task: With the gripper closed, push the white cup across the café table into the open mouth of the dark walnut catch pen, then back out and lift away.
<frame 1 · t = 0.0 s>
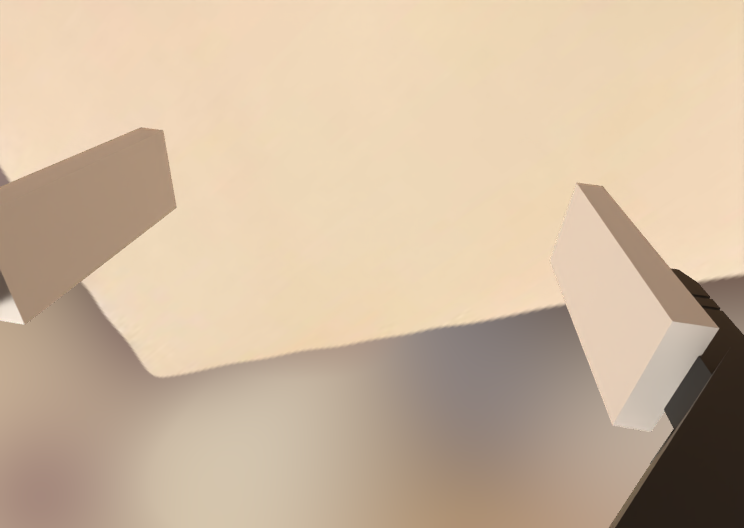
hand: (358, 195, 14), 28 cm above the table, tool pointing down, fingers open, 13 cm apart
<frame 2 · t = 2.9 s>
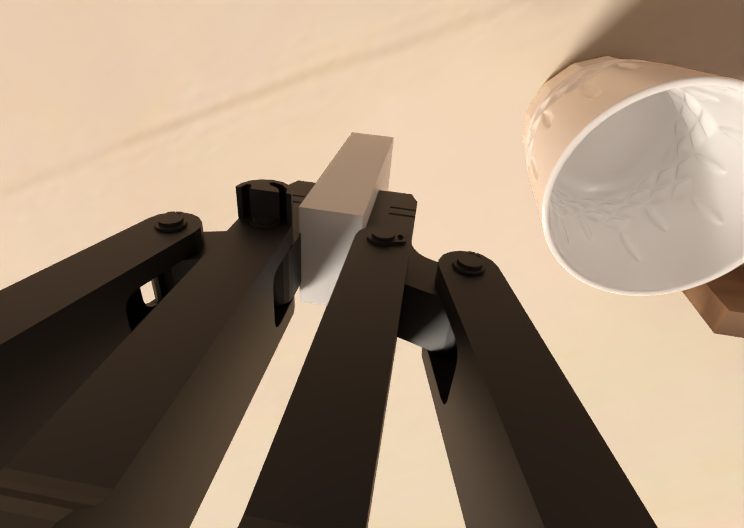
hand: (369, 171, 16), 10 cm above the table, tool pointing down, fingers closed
white cup: (587, 124, 23), on the table
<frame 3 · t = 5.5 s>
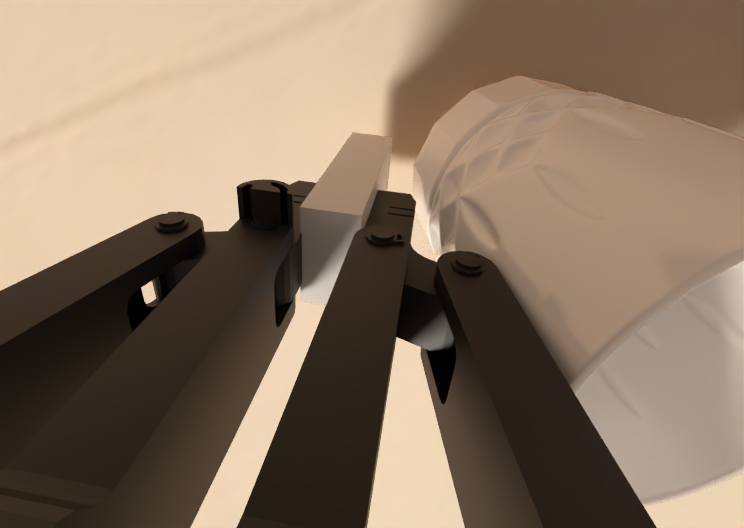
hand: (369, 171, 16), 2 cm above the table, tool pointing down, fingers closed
white cup: (496, 171, 16), point 1 cm above the table, touching gripper, hand
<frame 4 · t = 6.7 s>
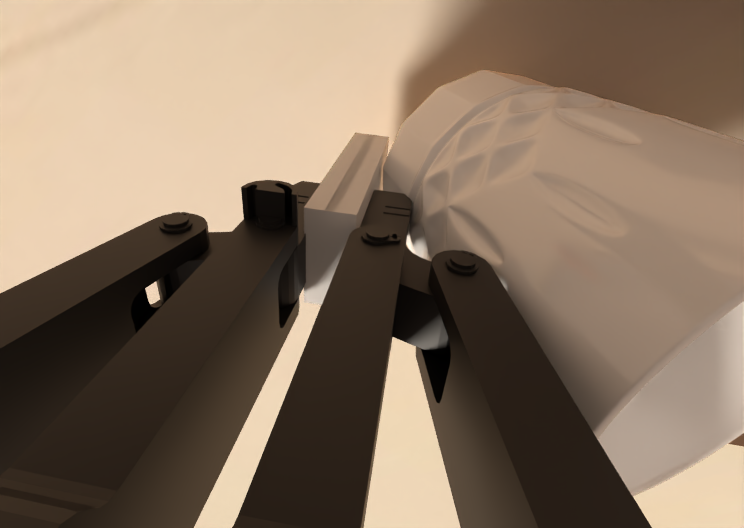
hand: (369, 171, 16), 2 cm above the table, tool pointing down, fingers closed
white cup: (463, 166, 16), point 2 cm above the table, touching gripper
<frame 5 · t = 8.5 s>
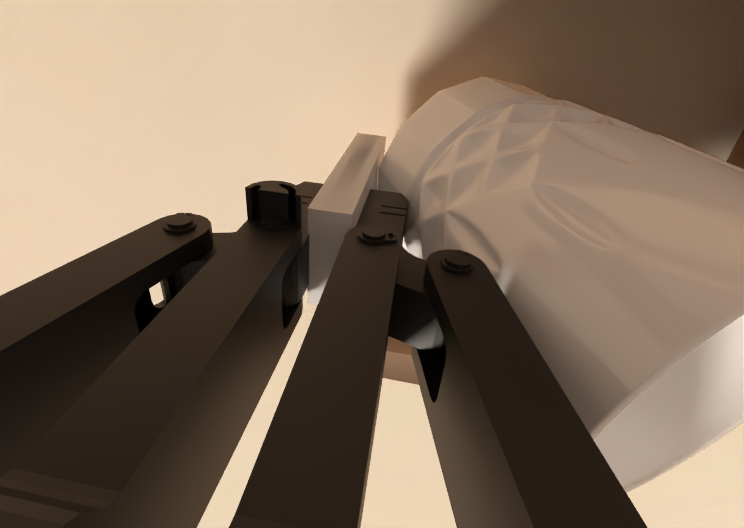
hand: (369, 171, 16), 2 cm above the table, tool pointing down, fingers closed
catch pen: (550, 147, 16), on the table
white cup: (457, 170, 16), point 2 cm above the table, touching gripper
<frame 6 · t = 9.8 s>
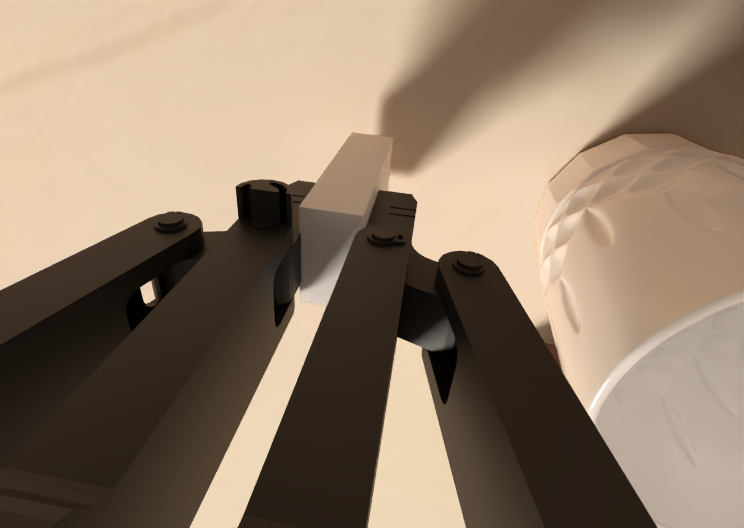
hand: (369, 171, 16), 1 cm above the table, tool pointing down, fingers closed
white cup: (622, 217, 17), on the table
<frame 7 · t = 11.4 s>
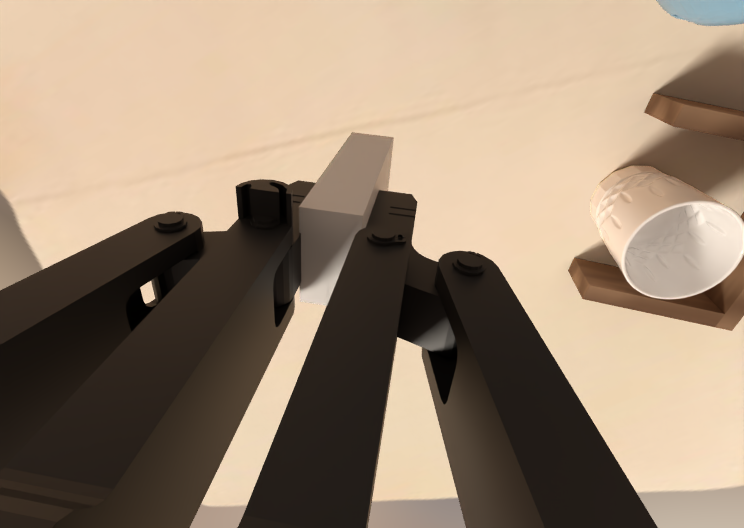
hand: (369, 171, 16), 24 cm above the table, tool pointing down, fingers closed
catch pen: (672, 205, 39), on the table
white cup: (628, 200, 40), on the table
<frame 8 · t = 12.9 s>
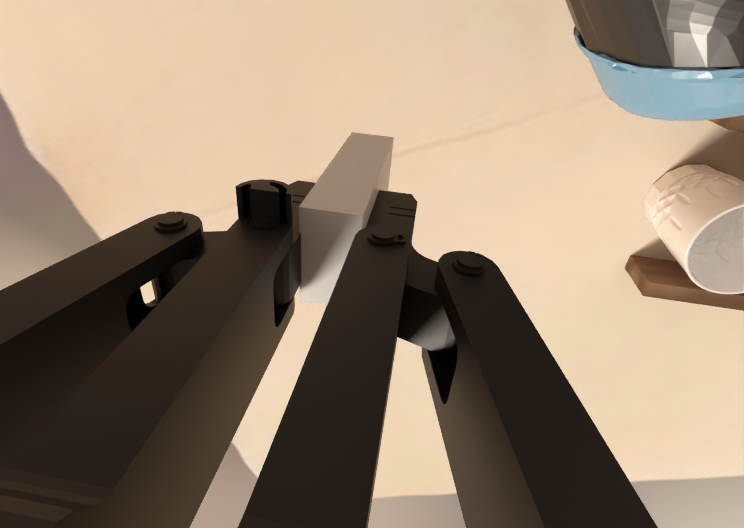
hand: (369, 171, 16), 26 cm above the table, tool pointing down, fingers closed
catch pen: (728, 199, 40), on the table
white cup: (682, 197, 41), on the table
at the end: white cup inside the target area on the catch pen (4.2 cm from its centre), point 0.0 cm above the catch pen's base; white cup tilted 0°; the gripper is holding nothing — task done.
